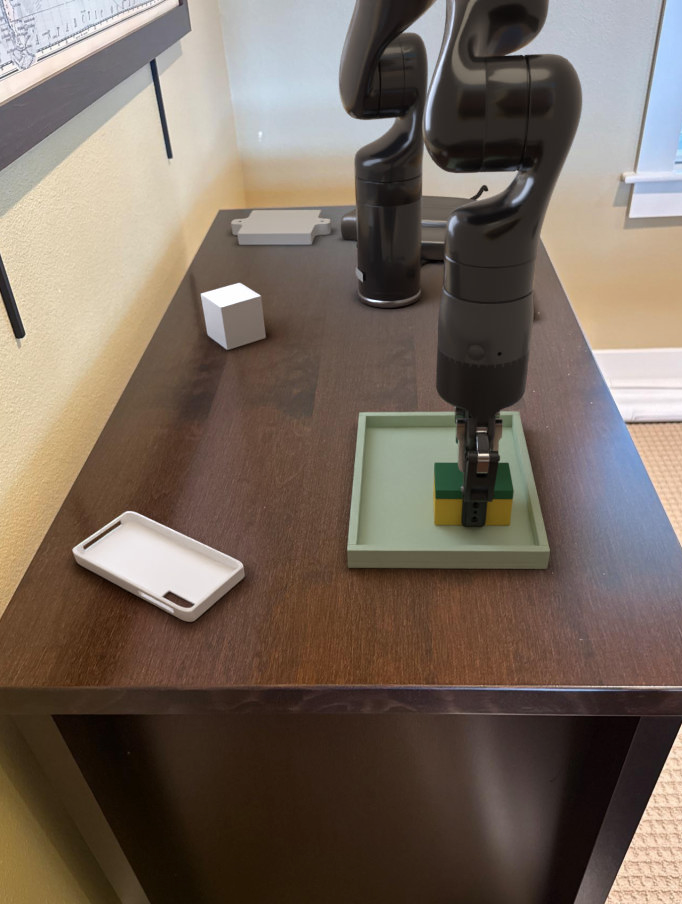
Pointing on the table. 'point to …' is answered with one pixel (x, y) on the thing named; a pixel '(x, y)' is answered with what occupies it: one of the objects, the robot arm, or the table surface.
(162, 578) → the phone case
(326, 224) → the mounting plate
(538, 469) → the table surface
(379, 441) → the tray
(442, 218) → the grey contoured platform
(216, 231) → the table surface
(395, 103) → the robot arm
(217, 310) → the white cube
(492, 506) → the sponge
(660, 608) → the table surface
